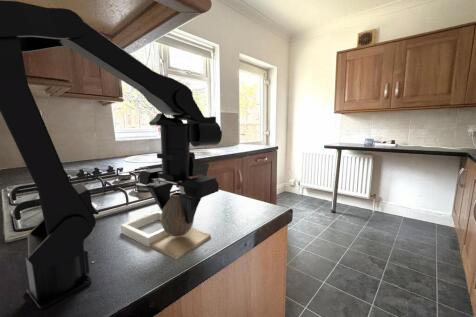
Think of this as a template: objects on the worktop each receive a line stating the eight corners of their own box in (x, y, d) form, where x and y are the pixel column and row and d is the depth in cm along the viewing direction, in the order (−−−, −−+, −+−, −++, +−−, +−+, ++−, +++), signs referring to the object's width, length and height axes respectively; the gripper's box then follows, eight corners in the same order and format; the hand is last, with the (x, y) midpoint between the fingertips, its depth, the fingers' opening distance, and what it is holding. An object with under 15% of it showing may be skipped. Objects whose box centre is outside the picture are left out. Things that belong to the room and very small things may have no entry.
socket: (148, 246, 45) (146, 200, 44) (121, 232, 51) (118, 191, 50) (200, 220, 59) (199, 183, 57) (173, 211, 64) (172, 177, 63)
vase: (195, 237, 46) (195, 197, 44) (161, 242, 44) (159, 200, 42) (192, 223, 52) (192, 188, 51) (162, 227, 50) (160, 190, 49)
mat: (176, 259, 41) (176, 256, 41) (144, 243, 47) (144, 241, 47) (210, 237, 50) (210, 234, 50) (180, 226, 55) (180, 223, 55)
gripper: (234, 148, 47) (233, 216, 49) (175, 143, 57) (177, 200, 59) (198, 152, 37) (199, 237, 40) (135, 146, 48) (139, 213, 50)
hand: (177, 219), depth 47 cm, fingers closed on vase, 7 cm apart
